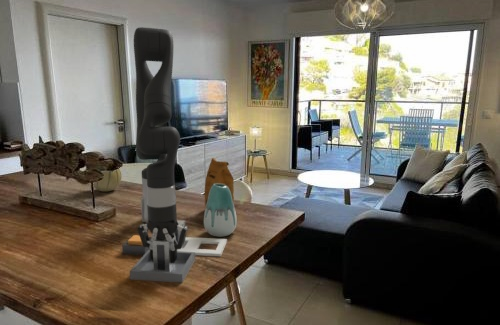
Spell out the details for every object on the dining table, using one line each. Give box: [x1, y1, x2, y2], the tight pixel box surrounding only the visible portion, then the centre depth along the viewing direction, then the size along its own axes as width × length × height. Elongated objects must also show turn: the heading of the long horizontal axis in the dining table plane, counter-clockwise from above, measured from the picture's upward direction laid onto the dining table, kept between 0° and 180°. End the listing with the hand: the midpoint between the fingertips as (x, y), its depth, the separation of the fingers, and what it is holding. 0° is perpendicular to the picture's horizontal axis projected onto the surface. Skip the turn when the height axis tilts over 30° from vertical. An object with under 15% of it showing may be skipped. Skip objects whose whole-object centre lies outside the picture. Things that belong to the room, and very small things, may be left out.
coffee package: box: [204, 157, 235, 209], centre depth 151 cm, size 10×12×22 cm
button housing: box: [121, 235, 152, 256], centre depth 114 cm, size 7×7×4 cm
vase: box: [203, 183, 238, 238], centre depth 129 cm, size 12×12×18 cm
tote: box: [129, 250, 196, 283], centre depth 102 cm, size 14×13×4 cm
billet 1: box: [152, 237, 175, 272], centre depth 101 cm, size 4×5×9 cm
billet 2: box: [174, 219, 187, 248], centre depth 116 cm, size 4×5×9 cm
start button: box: [127, 234, 143, 245], centre depth 113 cm, size 4×4×2 cm
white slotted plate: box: [177, 236, 228, 257], centre depth 116 cm, size 20×11×2 cm, turn 84°
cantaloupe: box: [93, 168, 123, 192], centre depth 181 cm, size 15×15×15 cm
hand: (164, 261), depth 101 cm, fingers closed on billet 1, 4 cm apart
